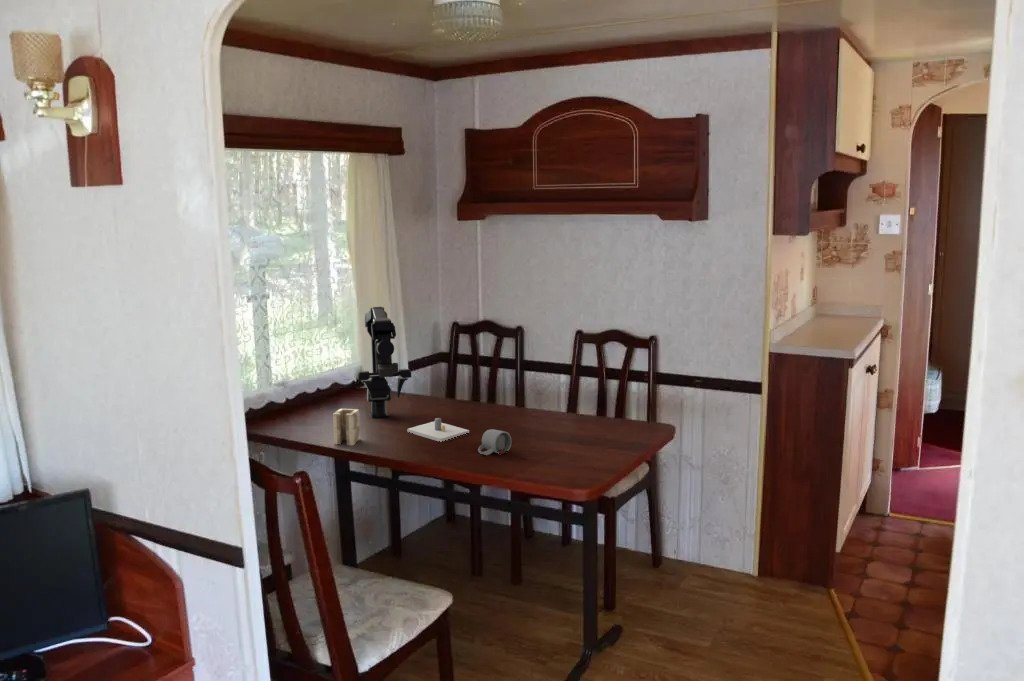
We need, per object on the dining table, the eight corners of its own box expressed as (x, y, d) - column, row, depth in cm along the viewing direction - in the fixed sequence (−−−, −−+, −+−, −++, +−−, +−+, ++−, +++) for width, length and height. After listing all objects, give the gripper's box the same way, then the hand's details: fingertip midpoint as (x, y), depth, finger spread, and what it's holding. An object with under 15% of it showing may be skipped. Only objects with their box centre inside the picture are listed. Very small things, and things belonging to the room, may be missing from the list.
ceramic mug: (496, 446, 294) (495, 424, 293) (512, 451, 288) (511, 429, 287) (472, 453, 287) (472, 431, 286) (488, 459, 281) (488, 436, 280)
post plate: (407, 432, 311) (406, 418, 310) (435, 424, 321) (435, 410, 320) (441, 442, 299) (440, 427, 298) (469, 433, 309) (469, 419, 308)
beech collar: (341, 438, 303) (340, 408, 301) (360, 439, 302) (359, 409, 300) (333, 444, 296) (332, 413, 294) (353, 445, 295) (352, 414, 293)
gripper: (358, 357, 292) (360, 403, 293) (412, 355, 297) (414, 399, 298) (356, 355, 303) (358, 399, 304) (408, 353, 308) (410, 396, 308)
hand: (385, 398), depth 303 cm, fingers open, 9 cm apart
